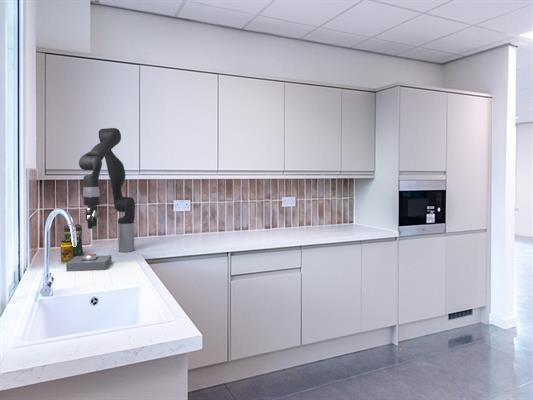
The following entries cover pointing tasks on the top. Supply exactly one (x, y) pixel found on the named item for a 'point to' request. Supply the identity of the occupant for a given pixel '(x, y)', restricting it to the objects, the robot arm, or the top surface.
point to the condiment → (66, 251)
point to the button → (89, 257)
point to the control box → (88, 263)
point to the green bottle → (78, 249)
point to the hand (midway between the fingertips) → (92, 227)
